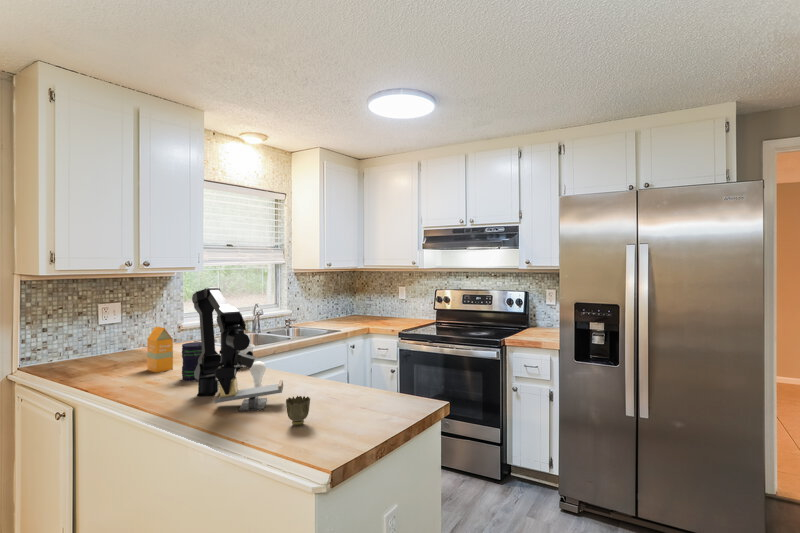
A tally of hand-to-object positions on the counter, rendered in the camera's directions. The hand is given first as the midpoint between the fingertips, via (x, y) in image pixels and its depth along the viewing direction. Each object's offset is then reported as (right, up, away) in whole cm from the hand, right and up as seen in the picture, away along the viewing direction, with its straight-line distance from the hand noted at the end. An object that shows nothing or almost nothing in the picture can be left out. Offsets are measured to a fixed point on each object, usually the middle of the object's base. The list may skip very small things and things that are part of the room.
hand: (229, 391), depth 154 cm
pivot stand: (+8, -5, +2) cm, 10 cm away
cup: (+28, -6, -17) cm, 33 cm away
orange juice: (-53, -5, +54) cm, 76 cm away
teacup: (-19, -5, +61) cm, 64 cm away
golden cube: (0, -1, 0) cm, 1 cm away
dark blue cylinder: (-30, -5, +38) cm, 49 cm away
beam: (+8, -1, +2) cm, 8 cm away
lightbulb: (+3, -6, +22) cm, 23 cm away
